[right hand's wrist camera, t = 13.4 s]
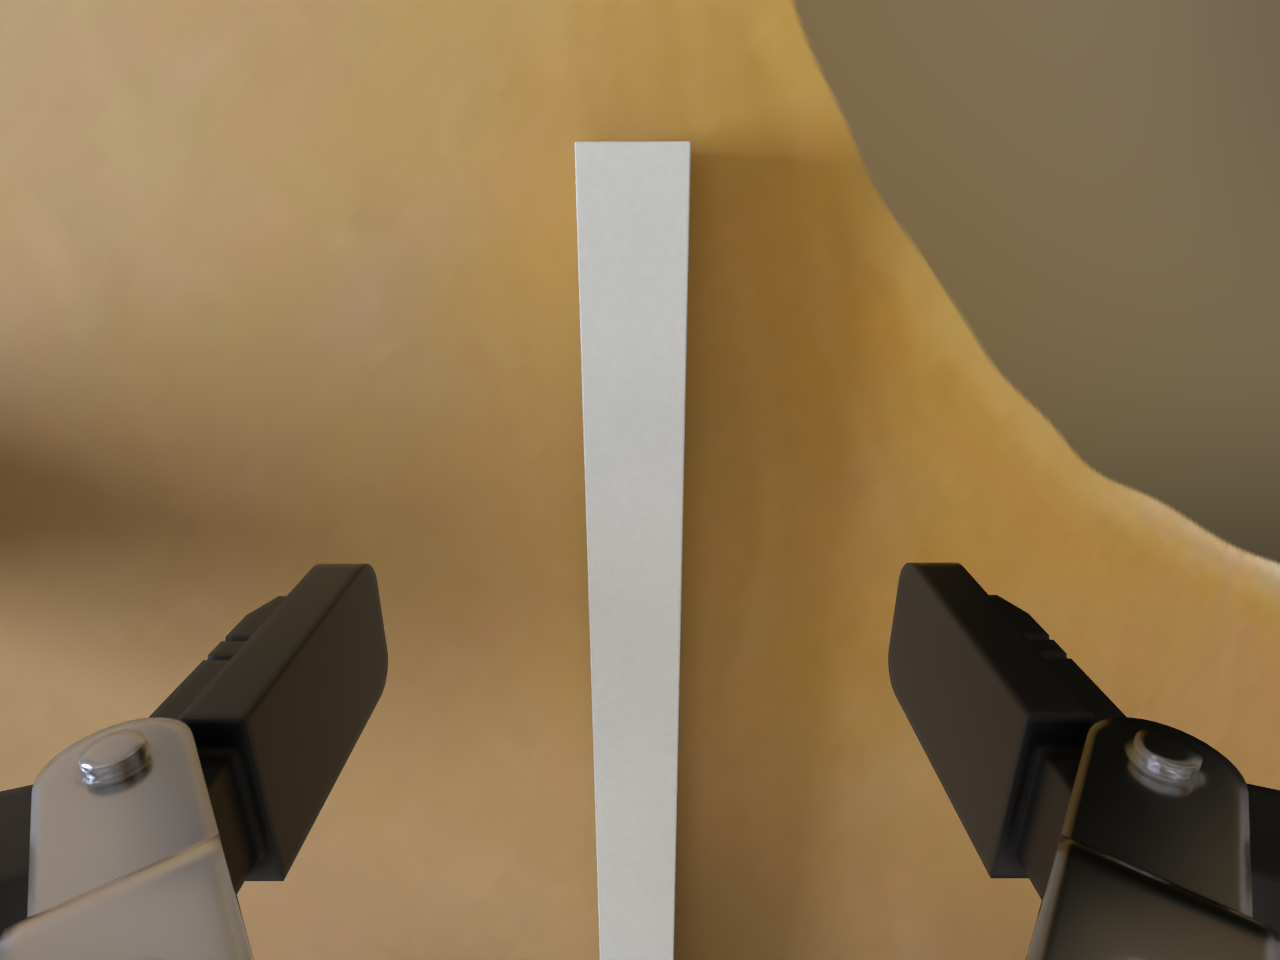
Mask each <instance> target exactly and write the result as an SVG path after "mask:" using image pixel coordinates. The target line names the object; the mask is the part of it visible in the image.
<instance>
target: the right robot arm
mask: <svg viewBox="0 0 1280 960" xmlns="http://www.w3.org/2000/svg"><path fill="white" fill-rule="evenodd" d="M888 665H889V674H890V680H891V684H892V688H893V690H894V693H895V695H896V697H897V699H898V701H899V703H900V705H901V707H902V709H903V710H904V712H905V714H906V716H907V718H908V720H909V722H910V724H911V726H912V728H913V730H914V732H915V734H916V735H917V737H918V739H919V741H920V743H921V745H922V747H923V749H924V751H925V753H926V755H927V757H928V758H929V760H930V762H931V764H932V766H933V768H934V770H935V772H936V774H937V776H938V778H939V780H940V782H941V783H942V785H943V787H944V789H945V791H946V793H947V795H948V797H949V799H950V801H951V803H952V805H953V807H954V808H955V810H956V812H957V814H958V816H959V818H960V820H961V822H962V824H963V826H964V828H965V830H966V831H967V833H968V835H969V837H970V839H971V841H972V843H973V845H974V847H975V849H976V851H977V853H978V855H979V856H980V858H981V860H982V862H983V864H984V866H985V868H986V870H987V872H988V874H989V876H990V878H1029V879H1030V880H1031V882H1032V884H1033V886H1034V887H1035V889H1036V891H1037V892H1038V894H1039V896H1040V898H1041V899H1042V902H1041V906H1040V909H1039V913H1038V917H1037V920H1036V924H1035V928H1034V932H1033V935H1032V939H1031V943H1030V947H1029V950H1028V954H1027V958H1026V960H1280V791H1279V790H1275V789H1270V788H1265V787H1261V786H1256V785H1251V784H1246V782H1245V780H1244V778H1243V776H1242V775H1241V773H1240V772H1239V771H1238V769H1237V768H1236V767H1235V766H1234V765H1233V764H1232V763H1231V762H1230V761H1229V760H1228V759H1227V758H1226V757H1224V756H1223V755H1222V754H1221V753H1219V752H1218V751H1217V750H1215V749H1214V748H1212V747H1211V746H1209V745H1208V744H1206V743H1204V742H1203V741H1201V740H1199V739H1197V738H1195V737H1193V736H1191V735H1189V734H1187V733H1185V732H1183V731H1180V730H1178V729H1175V728H1172V727H1170V726H1167V725H1164V724H1160V723H1157V722H1153V721H1148V720H1144V719H1137V718H1127V717H1126V716H1125V715H1124V714H1123V713H1122V712H1121V711H1120V710H1119V709H1118V708H1117V707H1116V705H1115V704H1114V703H1113V702H1112V701H1111V700H1110V699H1109V698H1108V697H1107V696H1106V695H1105V694H1104V693H1103V692H1102V691H1101V690H1100V689H1099V688H1098V687H1097V685H1096V684H1095V683H1094V682H1093V681H1092V680H1091V679H1090V678H1089V677H1088V676H1087V675H1086V674H1085V673H1084V672H1083V671H1082V670H1081V669H1080V668H1079V666H1078V665H1077V664H1076V663H1075V662H1074V661H1073V660H1072V659H1067V656H1066V653H1065V652H1064V651H1063V650H1062V649H1061V648H1060V646H1059V645H1058V644H1057V643H1056V642H1055V641H1054V640H1050V639H1049V635H1048V634H1047V633H1046V632H1045V631H1044V630H1043V629H1042V627H1041V626H1040V625H1039V624H1038V623H1037V622H1036V621H1035V620H1034V619H1033V618H1032V617H1031V616H1030V615H1029V614H1028V613H1026V612H1025V611H1023V610H1021V609H1020V608H1018V607H1016V606H1014V605H1013V604H1011V603H1009V602H1008V601H1006V600H1004V599H1003V598H1001V597H999V596H997V595H988V594H987V593H986V592H985V591H984V590H983V588H982V587H981V586H980V585H979V584H978V583H977V582H976V581H975V579H974V578H973V577H972V576H971V575H970V574H969V573H968V572H967V570H966V569H965V568H964V567H963V566H962V565H961V564H959V563H907V564H905V565H904V567H903V568H902V570H901V573H900V577H899V583H898V590H897V597H896V604H895V611H894V618H893V625H892V632H891V639H890V645H889V654H888ZM387 669H388V653H387V646H386V639H385V632H384V625H383V618H382V612H381V605H380V598H379V591H378V584H377V579H376V575H375V572H374V569H373V568H372V566H370V565H369V564H317V565H315V566H314V567H313V568H312V569H311V570H310V571H309V572H308V573H307V574H306V576H305V577H304V578H303V579H302V580H301V581H300V582H299V583H298V584H297V586H296V587H295V588H294V589H293V590H292V591H291V592H290V593H289V594H288V596H278V597H277V598H275V599H273V600H272V601H270V602H268V603H267V604H265V605H263V606H261V607H260V608H258V609H256V610H255V611H253V612H251V613H249V614H248V615H246V616H245V617H244V618H243V619H242V621H241V622H240V623H239V624H238V625H237V626H236V627H235V628H234V629H233V630H232V631H231V632H230V633H229V634H228V635H227V636H226V640H225V642H220V644H219V645H218V646H217V647H216V648H215V649H214V650H213V651H212V652H211V653H210V654H209V655H208V660H203V661H202V662H201V663H200V664H199V665H198V666H197V668H196V669H195V670H194V671H193V672H192V673H191V674H190V675H189V676H188V677H187V678H186V679H185V680H184V681H183V682H182V683H181V684H180V685H179V686H178V687H177V688H176V689H175V691H174V692H173V693H172V694H171V695H170V696H169V697H168V698H167V699H166V700H165V701H164V702H163V703H162V704H161V705H160V706H159V707H158V708H157V709H156V710H155V711H154V712H153V714H152V715H151V716H150V717H149V718H143V719H136V720H132V721H127V722H123V723H120V724H116V725H113V726H110V727H108V728H105V729H102V730H100V731H97V732H95V733H93V734H91V735H89V736H87V737H85V738H83V739H81V740H79V741H77V742H76V743H74V744H72V745H71V746H69V747H68V748H66V749H65V750H63V751H62V752H61V753H59V754H58V755H57V756H56V757H54V758H53V759H52V760H51V761H50V762H49V763H48V764H47V765H46V766H45V767H44V768H43V769H42V771H41V772H40V773H39V775H38V776H37V778H36V780H35V782H34V784H33V785H29V786H25V787H20V788H15V789H11V790H6V791H1V792H0V960H254V958H253V954H252V950H251V947H250V943H249V939H248V935H247V932H246V928H245V924H244V920H243V917H242V913H241V909H240V906H239V902H238V898H237V893H238V891H239V890H240V888H241V886H242V884H243V883H244V881H284V879H285V877H286V875H287V873H288V871H289V869H290V868H291V866H292V864H293V862H294V860H295V858H296V856H297V854H298V852H299V850H300V849H301V847H302V845H303V843H304V841H305V839H306V837H307V835H308V833H309V831H310V830H311V828H312V826H313V824H314V822H315V820H316V818H317V816H318V814H319V812H320V811H321V809H322V807H323V805H324V803H325V801H326V799H327V797H328V795H329V793H330V792H331V790H332V788H333V786H334V784H335V782H336V780H337V778H338V776H339V775H340V773H341V771H342V769H343V767H344V765H345V763H346V761H347V759H348V757H349V756H350V754H351V752H352V750H353V748H354V746H355V744H356V742H357V740H358V738H359V737H360V735H361V733H362V731H363V729H364V727H365V725H366V723H367V721H368V719H369V718H370V716H371V714H372V712H373V710H374V708H375V706H376V704H377V702H378V701H379V699H380V697H381V695H382V692H383V689H384V686H385V682H386V677H387Z"/></svg>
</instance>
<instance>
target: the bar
mask: <svg viewBox="0 0 1280 960" xmlns="http://www.w3.org/2000/svg"><path fill="white" fill-rule="evenodd" d="M574 145H575V177H576V209H577V241H578V273H579V305H580V337H581V369H582V401H583V433H584V465H585V497H586V529H587V561H588V593H589V625H590V657H591V689H592V722H593V754H594V786H595V818H596V850H597V882H598V914H599V946H600V960H674V924H675V877H676V830H677V782H678V735H679V688H680V641H681V594H682V546H683V499H684V452H685V405H686V358H687V310H688V263H689V216H690V169H691V142H690V141H576V142H575V143H574Z"/></svg>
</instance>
